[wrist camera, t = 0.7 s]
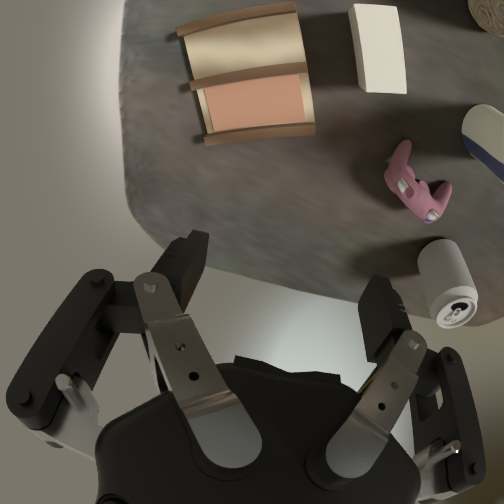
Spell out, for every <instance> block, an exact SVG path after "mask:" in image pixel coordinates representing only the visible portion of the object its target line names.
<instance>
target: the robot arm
mask: <svg viewBox="0 0 504 504" xmlns="http://www.w3.org/2000/svg"><path fill="white" fill-rule="evenodd" d="M208 240H209V233H206V232H202V231H198V230H192V232H191V233H190V234H189V236H188V237H187V239H186V238H182V237H179V238H177V239H176V240H174V241H172V242H171V243H170V245H169V246H168V247H167V249H166V250H165V252H164V253H163V255H162V256H161V257H160V259H159V260H158V261H157V263H156V264H155V266H154V267H153V268H152V270H151V271H150V272H147V273H143V274H141V275H139V276H138V277H136V279H135V280H134V281H132V282H125V281H114V277H113V275H112V273H110V272H109V271H107V270H104V269H94V270H91V271H89V272H87V273H85V274H84V275H83V276H82V278H81V279H80V280H79V282H78V283H77V284H76V285H75V287H74V288H73V289H72V291H71V292H70V293H69V295H68V296H67V297H66V299H65V300H64V302H63V303H62V304H61V305H60V307H59V308H58V309H57V311H56V312H55V314H54V315H53V317H52V318H51V319H50V321H49V322H48V324H47V325H46V327H45V328H44V330H43V331H42V332H41V334H40V335H39V337H38V339H37V340H36V342H35V343H34V345H33V347H32V348H31V349H30V351H29V353H28V354H27V356H26V357H25V359H24V361H23V363H22V364H21V366H20V367H19V369H18V371H17V373H16V374H15V376H14V378H13V380H12V382H11V383H10V385H9V387H8V389H7V392H6V403H7V406H8V408H9V409H10V411H11V412H12V413H13V414H14V415H15V416H16V417H17V418H18V419H19V420H20V421H21V422H22V423H23V425H24V426H25V427H27V428H28V429H29V430H30V431H31V432H33V433H34V434H35V435H36V436H37V437H39V438H40V439H42V440H44V441H45V442H46V443H48V444H49V445H51V446H52V447H55V448H63V447H65V448H67V449H69V450H71V451H73V452H75V453H77V454H79V455H81V456H84V457H86V458H88V459H90V460H93V461H95V462H96V465H97V470H98V481H99V485H98V486H99V487H98V495H97V499H96V502H95V504H415V502H416V501H418V502H419V503H421V504H432V503H435V502H438V501H440V500H443V499H446V498H448V497H451V496H453V495H456V494H458V493H460V492H462V491H465V490H467V489H469V488H472V487H474V486H476V485H478V484H480V483H481V482H482V481H483V479H484V477H485V474H486V462H485V455H484V449H483V443H482V436H481V431H480V426H479V422H478V417H477V412H476V408H475V404H474V400H473V396H472V392H471V389H470V386H469V382H468V378H467V375H466V372H465V369H464V365H463V362H462V359H461V357H460V355H459V354H458V353H457V352H456V351H455V350H454V349H452V348H450V347H444V348H442V350H441V351H440V352H439V353H437V352H435V351H432V350H430V349H428V348H427V343H426V341H425V339H424V338H423V337H422V336H421V335H420V334H419V333H417V332H415V331H413V330H412V327H411V324H410V321H409V319H408V316H407V313H406V312H405V311H406V310H405V307H404V306H403V302H402V299H401V297H400V296H399V294H398V293H397V292H396V291H395V289H393V288H392V285H391V283H390V280H389V278H387V277H383V276H379V275H376V274H374V275H373V276H372V277H371V279H370V281H369V283H368V284H367V286H366V288H365V290H364V292H363V294H362V296H361V298H360V300H359V303H358V312H359V317H360V322H361V327H362V333H363V339H364V345H365V350H366V357H367V362H372V363H377V366H376V368H375V369H374V370H373V371H372V373H371V374H370V376H369V377H368V378H367V380H366V381H365V382H364V384H363V385H362V386H361V388H360V389H359V391H358V392H356V391H354V390H353V389H352V388H350V387H348V386H346V385H344V384H342V383H341V379H340V375H338V374H331V373H324V372H317V371H313V372H295V373H290V372H286V371H284V370H282V369H279V368H277V367H274V366H272V365H270V364H267V363H265V362H263V361H258V360H254V359H250V358H245V357H241V356H235V359H234V363H221V364H215V363H214V361H213V359H212V358H211V356H210V354H209V352H208V350H207V348H206V346H205V344H204V342H203V340H202V338H201V336H200V334H199V332H198V330H197V328H196V326H195V324H194V322H193V320H192V318H191V317H190V315H189V314H185V315H184V312H185V310H186V308H187V306H188V303H189V301H190V299H191V297H192V295H193V293H194V290H195V288H196V286H197V284H198V282H199V280H200V277H201V275H202V273H203V270H204V267H205V263H206V255H207V247H208ZM120 333H137V334H140V337H141V340H142V344H143V347H144V350H145V353H146V355H147V359H148V361H149V365H150V368H151V371H152V375H153V378H154V382H155V385H156V388H157V390H158V393H159V395H158V396H156V397H154V398H152V399H151V400H149V401H147V402H145V403H144V404H142V405H140V406H138V407H136V408H134V409H133V410H131V411H129V412H127V413H125V414H123V415H121V416H120V417H117V418H116V419H114V420H112V421H111V422H109V423H108V424H107V425H106V426H105V427H104V428H103V427H101V426H99V425H98V413H99V405H98V402H97V400H96V398H95V396H94V395H93V393H92V391H93V388H94V386H95V384H96V382H97V380H98V377H99V375H100V373H101V371H102V369H103V367H104V364H105V362H106V360H107V358H108V356H109V354H110V352H111V350H112V348H113V346H114V344H115V342H116V340H117V338H118V336H119V334H120ZM440 388H441V391H442V396H443V403H442V406H441V408H440V409H439V410H438V405H437V399H436V394H435V393H436V392H437V391H438V390H439V389H440ZM408 399H409V402H410V409H411V417H412V427H413V437H414V451H415V455H414V457H413V459H411V458H410V457H409V455H408V454H407V453H406V451H405V450H404V449H403V448H402V446H401V445H400V444H399V443H398V442H397V440H396V439H395V438H394V437H393V435H392V434H391V433H390V432H391V430H392V428H393V427H394V425H395V423H396V421H397V420H398V418H399V416H400V414H401V412H402V410H403V409H404V407H405V405H406V403H407V401H408Z"/></svg>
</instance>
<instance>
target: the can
mask: <svg viewBox="0 0 504 504" xmlns="http://www.w3.org/2000/svg"><path fill="white" fill-rule="evenodd" d="M417 262H418V269H419V272H420V276H421V280H422V283H423V287H424V291H425V295H426V300H427V304H428V308H429V313H430V316H431V318H432V319H434V320H435V321H436V322H437V325H438V326H440V327H442V328H455V327H458V326H460V325H463V324H464V323H466V322H467V321H469V320H470V319H471V318H472V317H473V315H474V314H475V312H476V309H477V304H476V303H477V300H478V294H477V291H476V288H475V285H474V283H473V280H472V278H471V275H470V273H469V270H468V268H467V266H466V263H465V261H464V259H463V257H462V254H461V252H460V250H459V248H458V246H457V245H456V244H455V243H454V242H453V241H451V240H449V239H440V240H436V241H433V242H431V243H429V244H428V245H427V246H426V247H425V248H423V249H422V251H421V253H420V254H419V257H418V260H417Z"/></svg>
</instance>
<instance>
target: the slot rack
mask: <svg viewBox="0 0 504 504" xmlns="http://www.w3.org/2000/svg"><path fill="white" fill-rule="evenodd" d="M176 31H177V35H178V36H184V40H185V44H186V48H187V53H188V57H189V61H190V65H191V69H192V73H193V77H194V80H193V81H190V82H189V83H190V87H191V91H193V90H197V93H198V97H199V101H200V105H201V109H202V113H203V117H204V121H205V124H206V128H207V132H208V134H207V135H206V136H204V141H205V145H206V146H211V145H217V144H225V143H232V142H240V141H249V140H258V139H268V138H280V137H293V136H310V135H315V134H316V126H315V118H314V110H313V102H312V95H311V88H310V81H309V75H308V68H307V62H306V56H305V50H304V45H303V40H302V34H301V29H300V24H299V19H298V15H297V10H296V5H295V3H294V1H288V2H280V3H273V4H266V5H260V6H254V7H249V8H244V9H239V10H235V11H230V12H226V13H222V14H218V15H214V16H211V17H207V18H203V19H200V20H197V21H194V22H190V23H187V24H184V25H181V26H178V27H176Z"/></svg>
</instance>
